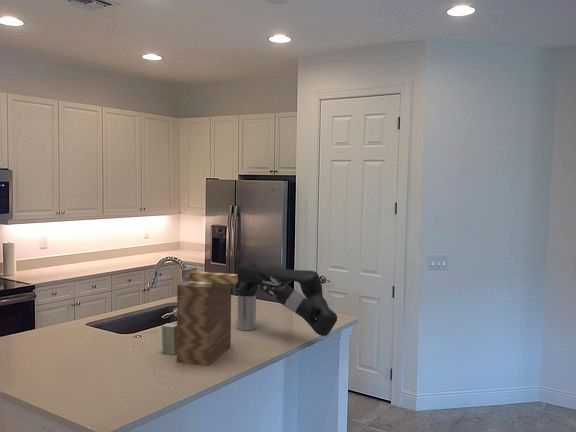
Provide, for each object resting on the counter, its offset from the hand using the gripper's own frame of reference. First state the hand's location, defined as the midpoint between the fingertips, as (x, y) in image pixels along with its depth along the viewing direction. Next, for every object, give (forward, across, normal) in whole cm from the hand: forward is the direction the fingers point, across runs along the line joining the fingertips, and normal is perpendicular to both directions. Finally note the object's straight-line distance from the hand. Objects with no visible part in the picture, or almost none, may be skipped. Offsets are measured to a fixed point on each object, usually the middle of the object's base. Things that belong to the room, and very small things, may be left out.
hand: (257, 275), depth 206 cm
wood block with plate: (+15, 0, +13) cm, 20 cm away
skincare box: (+16, -3, +52) cm, 54 cm away
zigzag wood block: (+3, -5, +44) cm, 45 cm away
